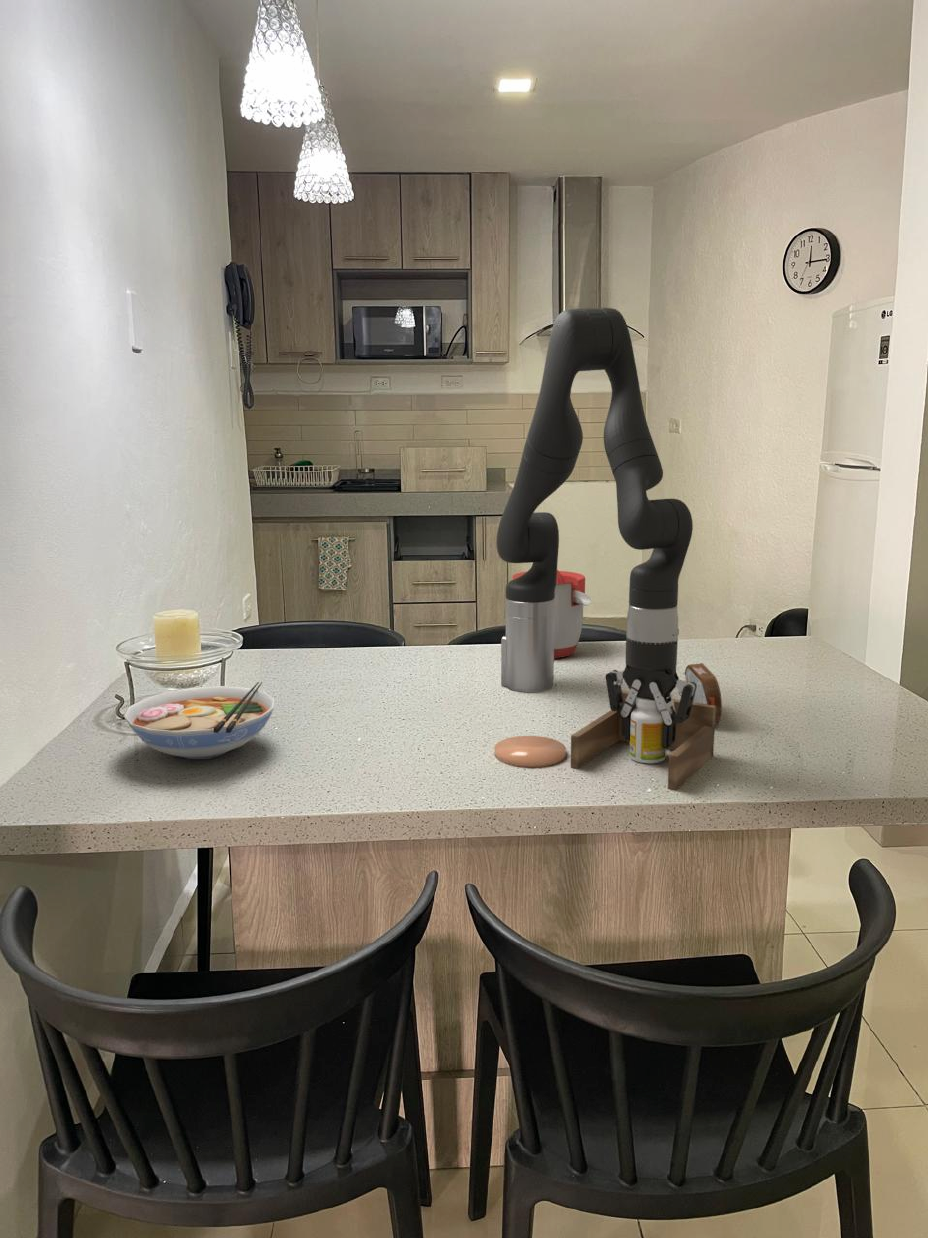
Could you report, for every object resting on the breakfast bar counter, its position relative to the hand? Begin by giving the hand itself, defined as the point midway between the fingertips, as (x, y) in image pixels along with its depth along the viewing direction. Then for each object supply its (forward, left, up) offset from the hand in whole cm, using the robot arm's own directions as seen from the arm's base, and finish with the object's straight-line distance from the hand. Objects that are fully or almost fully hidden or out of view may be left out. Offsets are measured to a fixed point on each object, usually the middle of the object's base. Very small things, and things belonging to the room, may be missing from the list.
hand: (648, 742), depth 144 cm
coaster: (-16, -8, -3) cm, 18 cm away
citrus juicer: (-42, +48, -3) cm, 64 cm away
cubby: (0, -2, -3) cm, 3 cm away
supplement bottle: (0, 0, -3) cm, 3 cm away
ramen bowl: (-60, -34, -3) cm, 69 cm away
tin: (0, +24, -3) cm, 24 cm away
